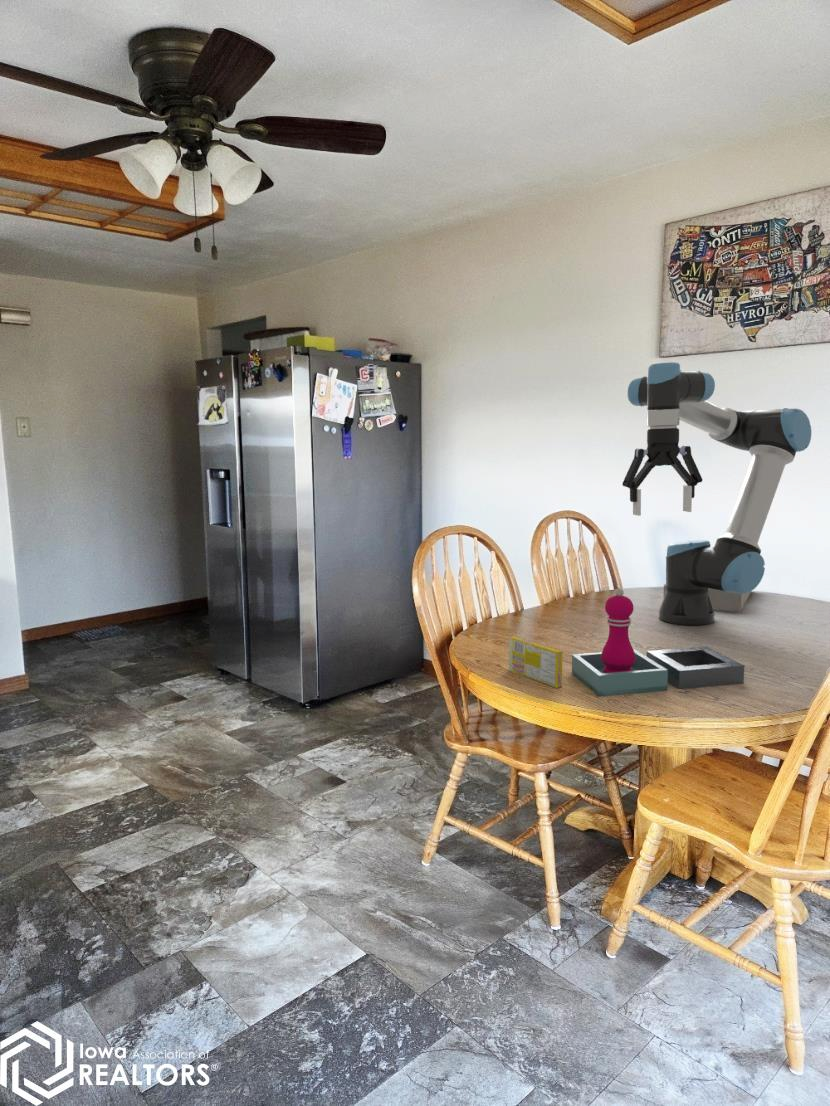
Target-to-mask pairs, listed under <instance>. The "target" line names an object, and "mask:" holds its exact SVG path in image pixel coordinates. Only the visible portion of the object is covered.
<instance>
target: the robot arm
mask: <svg viewBox="0 0 830 1106" xmlns="http://www.w3.org/2000/svg"><path fill="white" fill-rule="evenodd" d="M715 389H716V383H715V378H714V377H713V375H712V374H710V373H708V372H706V371H701V370H698V371H682V370H681V364H680V363H678V362H672V361H671V362H658V363H653V364H651V365H649V366H648V368H647V376H642V377H639V378H634V379H633V380H632V381H631V382H629V384H628V388H627V392H626V395H627V398H628V399H627V400H628V402H630V404H631V405H633V406H634V407H646V406H647V408H646V409H647V411H646V414H647V416H646V417H647V419H646V421H647V422H646V425H647V427H648V429H647V431H646V444H647V446H646V449H644V448H636V449H634V455H633V459H632V461H631V464H630V466H629V467H628V471H627V472H626V474H625V477H624V479H623V481H622V486H623V487H625V488H628V489H629V501H630V502H631V503H632V515H633V516H640V517H641V515H642V514H641V513H642V489H640V485H641V484H642V483H643V482H644V481H645V479H646V478H647V476H648V475H649V474H650V473H651V471H652V470H653V469H654V468H655V467H662V466H671V467H673V470H675V471H676V472H677V474H678V476H680V478H681V479H682V481H683V482H684V483H685V484H684V485H682V486H683V489H682V490H683V491H682V492H683V493H682V511H683V512H687V513H692V505H693V504H692V500H693V499H694V498H695V495H696V493H695V491H696V490H695V487H696V486H697V485H698V484H699V483H702V482H703V477H702V475H701V473H700V471H699V468H698V466H697V464H696V462H695V460H694V458H693V455H692V448H691V446H690V445H682V446H679V441H680V428H678V426H680V421H682V422H684V423H686V424H688V425H690V426H692V427H695V428H697V429H700V430H701V431H704V432H705V433H707V435H708V436H709V437H710V438H711V439H713V440H715V441H717V442H719V443H721V444H724V445H726V446H727V447H728V446H729V447H732V448H734V449H738V450H740V451H746V452H749V454H750V455H751V457H752V458H751V460H750V464H749V466H748V469H747V472H746V474H745V477H744V481H743V483H742V486H741V489H740V490H739V494H738V497H737V500H736V501H735V502H736V503H735V505H734V508H733V511H732V513H731V516H730V519H729V522H728V524H727V525H728V526H727V528H726V530H725V533H724V534H722V535H721V536H718V537H717V538H716V542H715V544H714V546H711V545H712V544H711V542H710V541H709V540H707V539H705V540H702V539H701V540H687V541H686V540H685V541H677V542H672V543H670V544H669V545H668V546H667V549H666V556H665V562H666V563H665V564H666V565H665V571H666V572H665V584H666V593H665V596H664V595H663V600H662V602H661V604H660V608H659V611H658V618H659V620H661V621H663V622H665V623H669V624H674V625H681V626H683V625H684V626H702V625H707V624H712V623H713V622H714V621H715V611H714V609H713V608H712V605H711V601H710V598H709V595H708V588H709V589H715V590H720V591H725V592H728V593H739V594H745V593H748V592H750V591H751V592H752V591H753V590H755V589H757V587H758V586H759V585H760V583H761V582H762V579H763V578H764V574H765V570H766V568H765V564H766V563H765V562H766V561H765V560H764V558H763V556H762V555H761V553H762V548H760V546H759V544H758V543H759V541H760V537H761V534H762V531H763V530H764V525H766V524H765V523H766V520H767V518H768V515H769V513H770V509H771V508H772V507H771V506H772V503H773V501H774V499H775V495H776V491H777V489H778V487H779V483H780V481H781V478H782V475H783V473H784V469H785V468H786V467H785V466H787V465H788V464H791V463H792V462H794V459H795V457H796V454H797V452H799V453H800V452H803V451H805V450H806V449H808V447H809V445H810V443H811V440H812V426H811V422H810V418H809V416H808V415H807V414H806V413H805V412H804V410H802V409H800V408H788V407H785V408H780V409H779V408H778V409H777V408H776V409H775V408H774V409H762V410H760V409H759V410H758V409H757V410H734V409H732V408H730V407H722V408H721V407H719V406H717V405H715V404H713V403H711V402H710V401H707V400H709V399H710V398H711V397H712V396H713V394H714V392H715ZM679 454H680V455H681V457H682V459H683V461H684V464H685V466H686V467H684V465H683V464H682V462H681V460H680V459H679V458H678V456H679ZM646 456H647V459H646V461H645V462H644V463H643V459H644V458H645V457H646ZM642 463H643V464H644V465H643V466H642V465H641V464H642ZM641 466H642V468H641V469H640V467H641ZM686 468H687V469H686ZM639 469H640V470H639ZM638 471H639V472H638Z"/></svg>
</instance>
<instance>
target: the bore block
mask: <svg viewBox="0 0 830 1106" xmlns="http://www.w3.org/2000/svg"><path fill="white" fill-rule="evenodd" d="M646 657H648V658H649V659H651V660H653V661H654V662H656V663H657V664H659V665H661V666H662V667H664V668H665V669H667V670H668V681H667V683H669V684H671V685H672V686H673V687H675V688H676V689H679V690H682V689H690V688H691V689H692V688H695V689H696V688H703V687H704V688H705V687H717V686H726V685H727V686H728V685H739V684H744V682H745V664H743V663H741V662H739V661H736V660H734V659H732V658H730V657H729V656H726V655H724V654H722V653H721V652H718V651H716V650H714V649H712V648H710V647H708V646H707V645H706V646H694V647H680V648H669V649H658V650H657V649H656V650H646Z"/></svg>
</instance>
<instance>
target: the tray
mask: <svg viewBox="0 0 830 1106" xmlns="http://www.w3.org/2000/svg"><path fill="white" fill-rule="evenodd" d="M633 650H634V653H635V663H634V664H633V665H632V666H631V667H630V668H631V669H632V670H633V671H625V672H613V673H603V669H604V667H606V666H605V664H604V663H603V662H602V659H601V657H602V651H600V652H586V653H574V654H571V674H572V675H573V676H575V677H576V678H577V679H578V680H579V681H580V682H581V683H583V684H584V685H585V686H586V687H587V688H588V689H590V690H591V691H592V692H593V693H594V694H596V696H598V697H605V696H606V697H607V696H616V695H617V696H619V695H627V694H628V695H629V694H639V693H651V692H653V693H654V692H662V691H663V692H664V691H668V670H667V669H665V668H664V667H662V666H661V665H659V664H657V663H656V662H654V661H653V660H651V659H649V658H648V657H647V655H644V654H643V653H641V652H640V651H638V650H637V649H633Z"/></svg>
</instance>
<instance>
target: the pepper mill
mask: <svg viewBox="0 0 830 1106" xmlns="http://www.w3.org/2000/svg"><path fill="white" fill-rule="evenodd" d="M614 593H615V595H612V596H610V597H608V599H607V600H606V602H605V604H604V611H605V612H606V614H607V615H608V616H607V617H606V619H607V621H606V623H607V625H608V627H609V630H608V635H607V636H608V637H607V640H606V642H605V644H604V646H603V649H602V650H601V652H602V657H601V659H602V662H603V663H604V664H605V666H606V667H604V669H603V673H613V672H625V671H633V670H632V669H631V668H630V667H631V666H632V665H633V664H634V663H635V653H634V650H635V649H634V648H633V645H632V643H631V641H630V637H629V627H630V625H631V621H632V618H631V617H630V616H631V615H632V614H633V612H634V604H633V602H632V600H631V599H630V598H629V597H627V596H625V595H624V594H625V593H624V590H623V589H621V588H617V589H616V590H615V592H614Z"/></svg>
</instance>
